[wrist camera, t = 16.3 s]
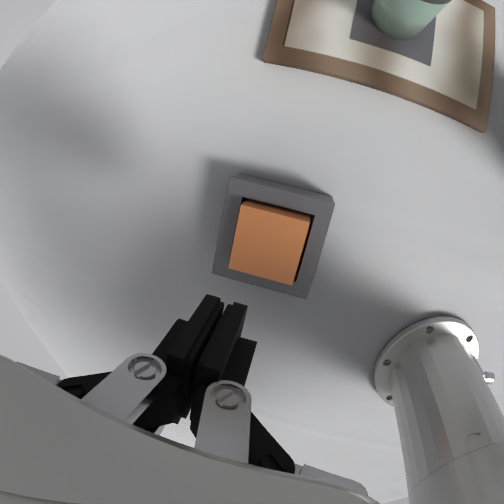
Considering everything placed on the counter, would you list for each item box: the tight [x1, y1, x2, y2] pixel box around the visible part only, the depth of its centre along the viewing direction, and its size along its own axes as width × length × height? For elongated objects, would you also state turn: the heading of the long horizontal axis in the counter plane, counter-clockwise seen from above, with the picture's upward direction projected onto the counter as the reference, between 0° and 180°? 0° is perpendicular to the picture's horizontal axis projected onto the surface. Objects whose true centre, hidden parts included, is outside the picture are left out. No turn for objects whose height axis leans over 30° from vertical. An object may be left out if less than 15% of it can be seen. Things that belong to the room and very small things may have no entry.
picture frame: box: [263, 0, 495, 132], centre depth 19 cm, size 20×14×1 cm
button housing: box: [212, 174, 335, 299], centre depth 26 cm, size 8×8×4 cm
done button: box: [228, 198, 310, 285], centre depth 24 cm, size 5×5×3 cm
